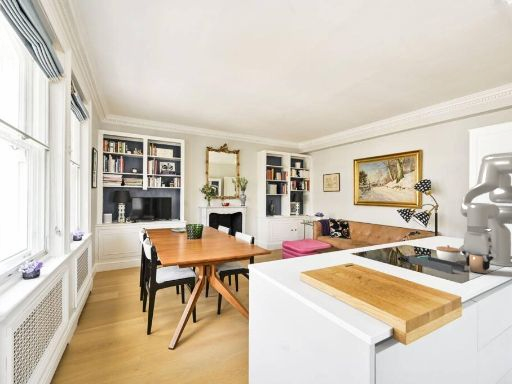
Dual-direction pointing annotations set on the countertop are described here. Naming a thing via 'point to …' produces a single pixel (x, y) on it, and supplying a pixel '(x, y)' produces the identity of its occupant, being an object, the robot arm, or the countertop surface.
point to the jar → (476, 262)
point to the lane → (436, 263)
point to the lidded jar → (448, 253)
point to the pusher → (424, 257)
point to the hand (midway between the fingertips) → (477, 267)
